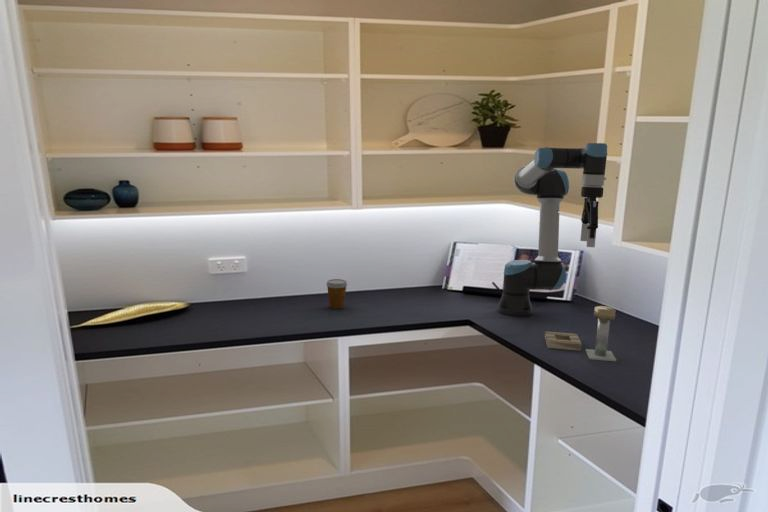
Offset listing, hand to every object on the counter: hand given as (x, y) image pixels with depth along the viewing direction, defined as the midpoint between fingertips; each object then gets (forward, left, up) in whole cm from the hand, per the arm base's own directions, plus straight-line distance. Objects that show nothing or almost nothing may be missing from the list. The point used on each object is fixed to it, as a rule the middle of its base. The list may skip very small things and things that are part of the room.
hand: (587, 244), depth 208 cm
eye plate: (+2, -6, -39) cm, 39 cm away
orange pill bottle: (-25, -102, -39) cm, 112 cm away
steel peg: (+12, +6, -38) cm, 40 cm away
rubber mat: (+12, +6, -39) cm, 41 cm away
